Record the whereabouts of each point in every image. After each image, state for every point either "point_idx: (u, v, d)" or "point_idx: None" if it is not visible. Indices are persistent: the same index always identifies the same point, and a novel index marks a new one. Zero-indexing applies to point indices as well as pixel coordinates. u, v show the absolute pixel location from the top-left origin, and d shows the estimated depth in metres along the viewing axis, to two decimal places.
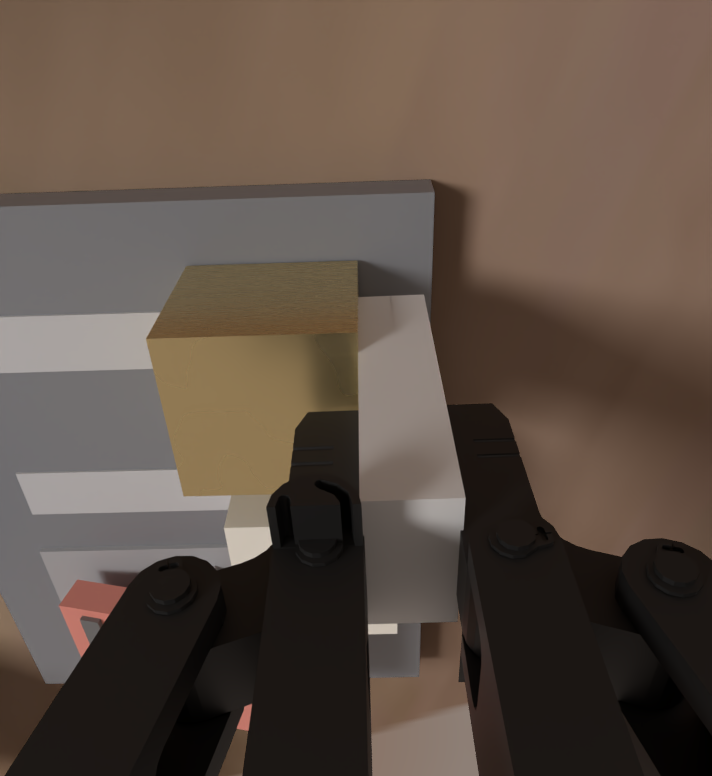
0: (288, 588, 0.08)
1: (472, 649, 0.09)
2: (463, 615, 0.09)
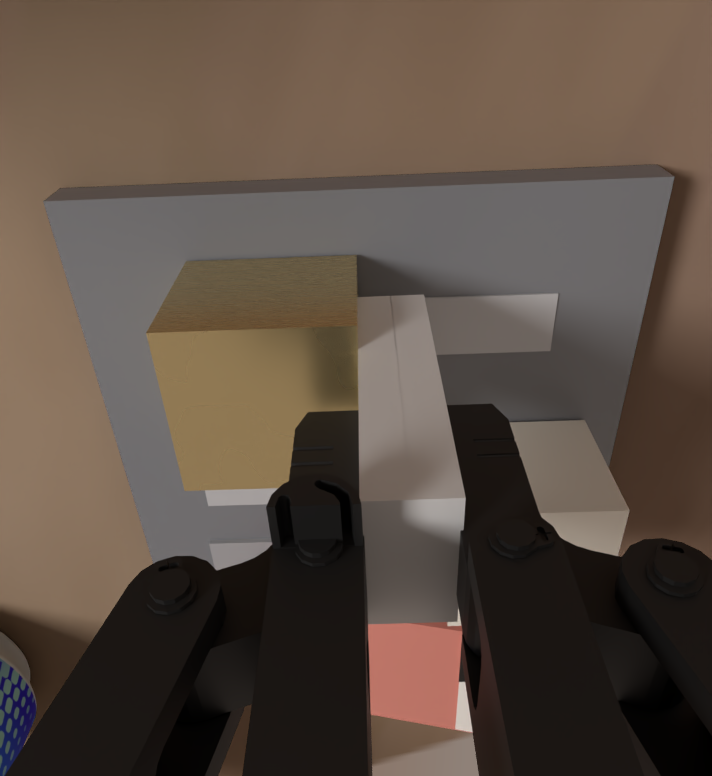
0: (288, 588, 0.08)
1: (472, 649, 0.09)
2: (463, 615, 0.09)
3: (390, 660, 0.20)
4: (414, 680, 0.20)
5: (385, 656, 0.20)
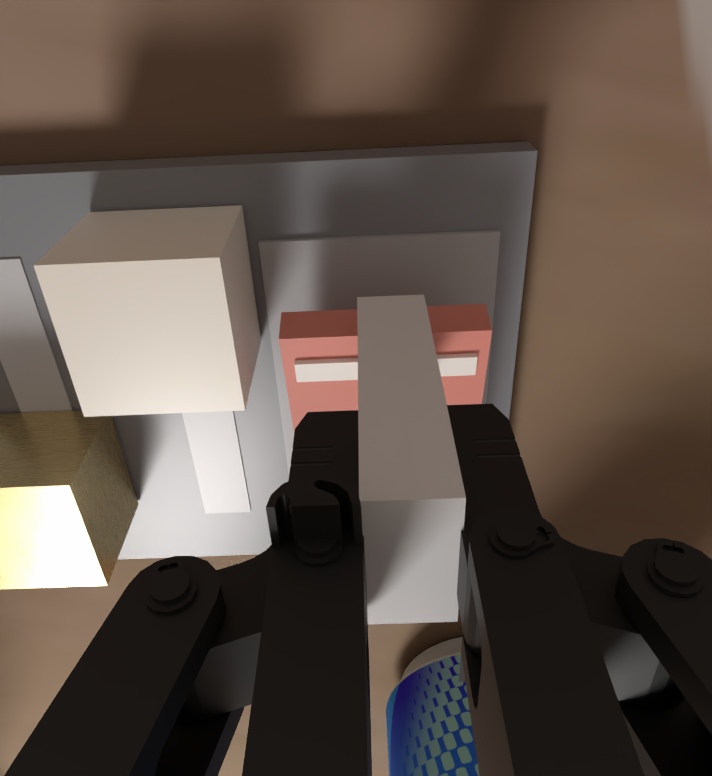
0: (288, 588, 0.08)
1: (473, 649, 0.09)
2: (464, 615, 0.09)
3: None
4: None
5: None
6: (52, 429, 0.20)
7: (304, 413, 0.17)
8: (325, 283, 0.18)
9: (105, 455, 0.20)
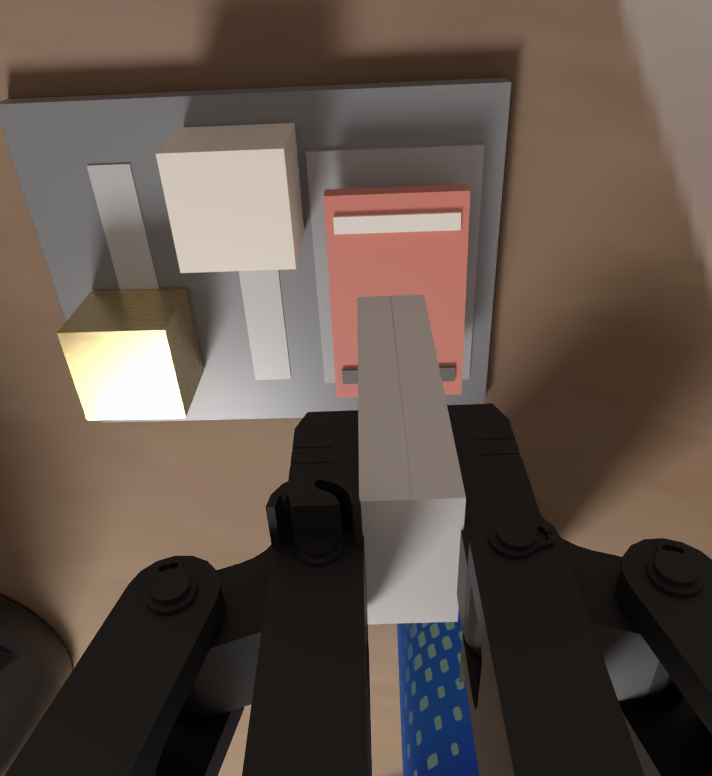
0: (288, 588, 0.08)
1: (472, 649, 0.09)
2: (463, 615, 0.09)
3: (381, 287, 0.24)
4: (402, 267, 0.24)
5: (376, 291, 0.24)
6: (146, 299, 0.26)
7: (338, 268, 0.24)
8: (354, 185, 0.24)
9: (184, 321, 0.26)
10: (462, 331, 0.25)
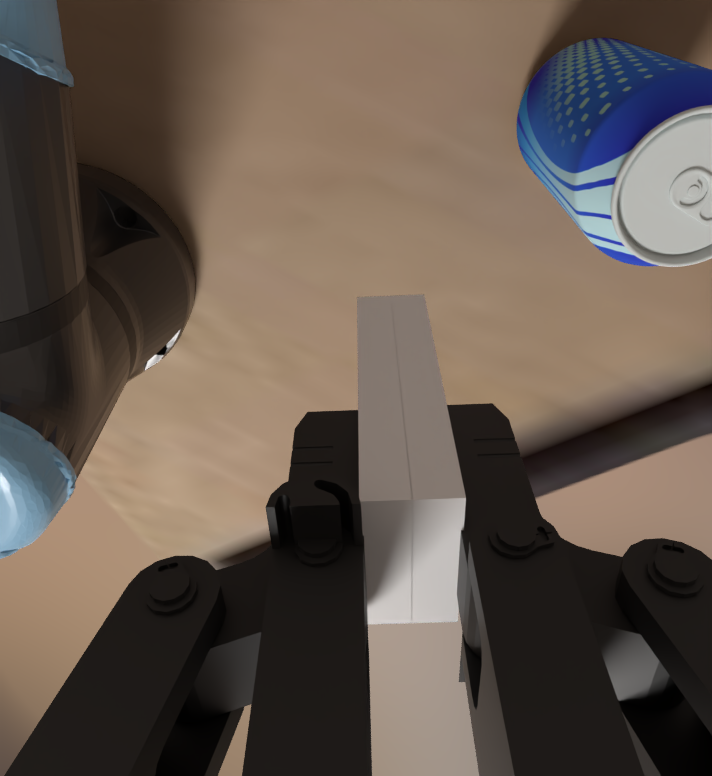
0: (288, 588, 0.08)
1: (473, 649, 0.09)
2: (464, 615, 0.09)
3: None
4: None
5: None
6: None
7: None
8: None
9: None
10: None
